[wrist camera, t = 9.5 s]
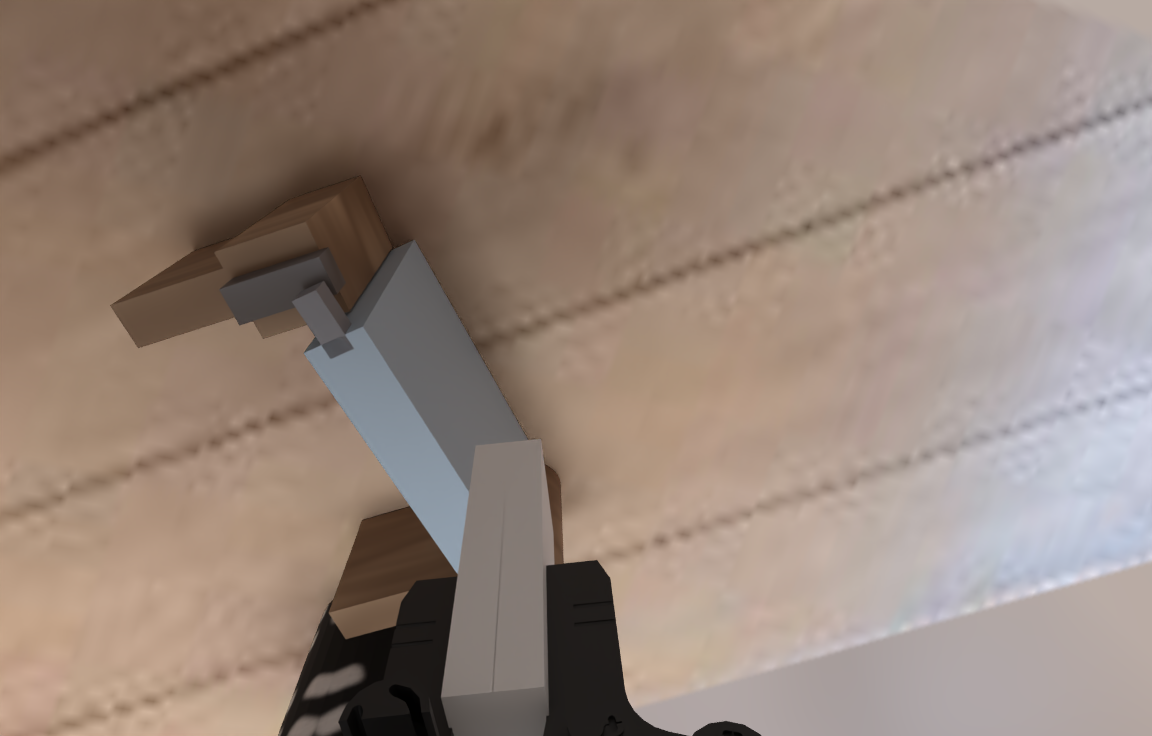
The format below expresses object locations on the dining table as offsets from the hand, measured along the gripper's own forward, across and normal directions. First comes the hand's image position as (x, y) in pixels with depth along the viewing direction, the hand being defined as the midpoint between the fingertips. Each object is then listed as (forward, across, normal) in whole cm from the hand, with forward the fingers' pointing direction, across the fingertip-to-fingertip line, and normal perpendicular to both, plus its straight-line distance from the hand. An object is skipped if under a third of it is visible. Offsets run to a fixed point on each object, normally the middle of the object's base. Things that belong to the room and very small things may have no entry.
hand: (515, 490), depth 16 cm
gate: (+14, -4, -3) cm, 15 cm away
